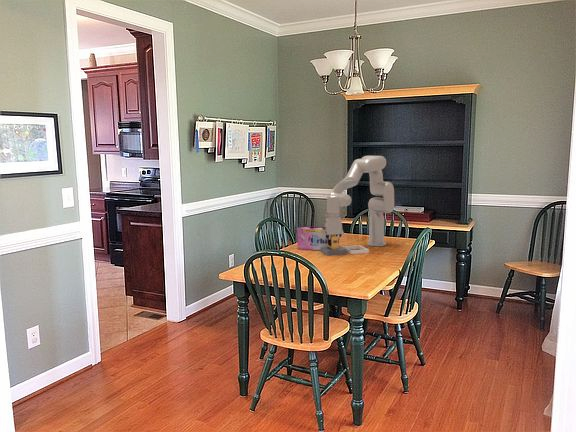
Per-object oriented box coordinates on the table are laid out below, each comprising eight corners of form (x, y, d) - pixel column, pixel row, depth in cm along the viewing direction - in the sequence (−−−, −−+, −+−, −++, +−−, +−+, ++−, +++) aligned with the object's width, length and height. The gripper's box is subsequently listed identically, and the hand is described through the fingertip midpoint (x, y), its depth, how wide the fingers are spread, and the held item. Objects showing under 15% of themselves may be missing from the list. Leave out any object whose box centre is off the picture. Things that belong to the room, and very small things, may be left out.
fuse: (332, 253, 305) (332, 236, 303) (328, 251, 310) (328, 235, 309) (338, 252, 306) (338, 236, 304) (334, 250, 311) (334, 234, 310)
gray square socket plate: (320, 253, 312) (320, 246, 312) (338, 251, 315) (338, 245, 315) (327, 257, 301) (327, 250, 300) (346, 256, 304) (346, 249, 303)
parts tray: (342, 250, 318) (342, 246, 318) (359, 249, 321) (359, 245, 321) (350, 255, 305) (350, 250, 304) (368, 254, 308) (369, 249, 308)
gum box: (337, 249, 319) (337, 227, 317) (333, 251, 312) (333, 229, 310) (301, 246, 328) (301, 225, 326) (297, 248, 321) (297, 227, 319)
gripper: (322, 217, 299) (322, 247, 302) (348, 215, 303) (348, 245, 306) (318, 215, 306) (318, 245, 309) (343, 214, 310) (343, 243, 313)
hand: (333, 245), depth 307 cm, fingers closed on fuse, 4 cm apart
